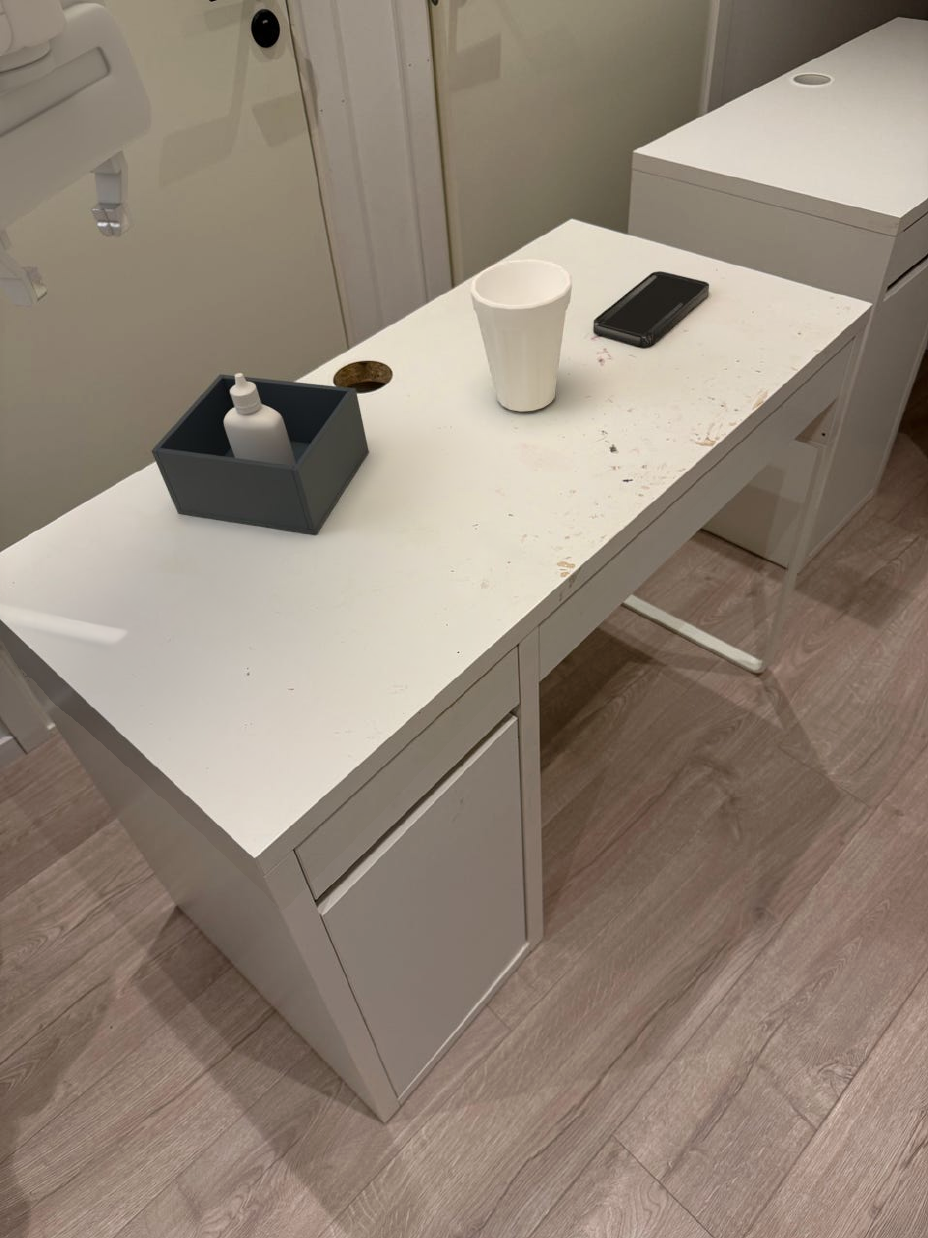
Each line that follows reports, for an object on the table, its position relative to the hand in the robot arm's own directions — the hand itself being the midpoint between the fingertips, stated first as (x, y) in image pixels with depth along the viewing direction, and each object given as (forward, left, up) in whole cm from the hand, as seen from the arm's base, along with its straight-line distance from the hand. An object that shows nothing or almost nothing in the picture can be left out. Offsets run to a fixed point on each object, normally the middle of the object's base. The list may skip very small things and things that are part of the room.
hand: (76, 264), depth 56 cm
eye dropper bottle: (-3, +16, -30) cm, 35 cm away
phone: (+28, +56, -31) cm, 70 cm away
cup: (+18, +36, -31) cm, 51 cm away
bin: (-3, +17, -31) cm, 35 cm away
